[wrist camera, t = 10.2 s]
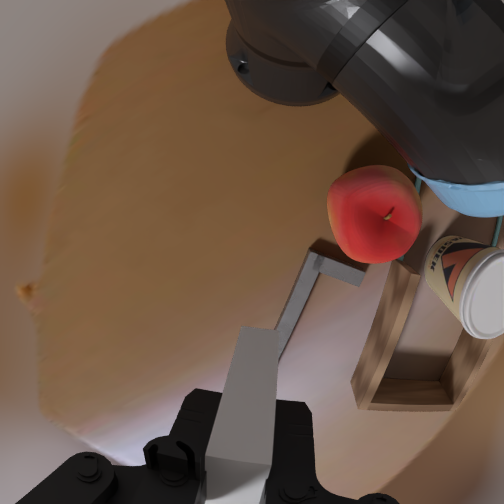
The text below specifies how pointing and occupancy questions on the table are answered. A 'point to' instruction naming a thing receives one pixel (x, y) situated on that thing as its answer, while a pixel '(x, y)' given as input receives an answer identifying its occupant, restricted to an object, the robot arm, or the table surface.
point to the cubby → (382, 347)
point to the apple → (374, 213)
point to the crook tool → (304, 284)
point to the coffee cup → (469, 283)
